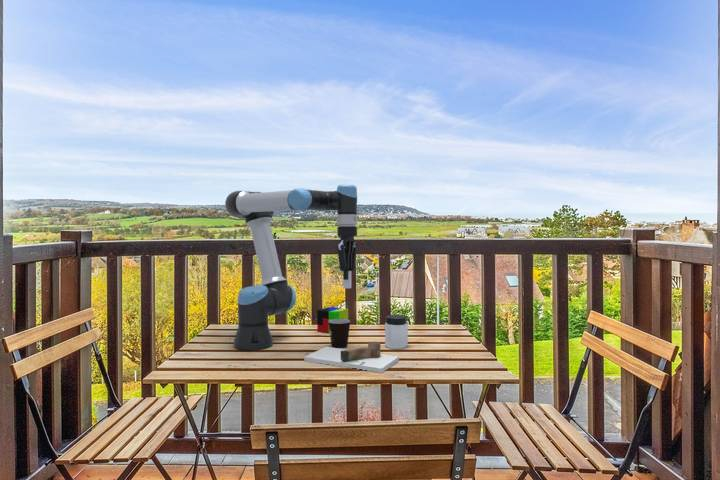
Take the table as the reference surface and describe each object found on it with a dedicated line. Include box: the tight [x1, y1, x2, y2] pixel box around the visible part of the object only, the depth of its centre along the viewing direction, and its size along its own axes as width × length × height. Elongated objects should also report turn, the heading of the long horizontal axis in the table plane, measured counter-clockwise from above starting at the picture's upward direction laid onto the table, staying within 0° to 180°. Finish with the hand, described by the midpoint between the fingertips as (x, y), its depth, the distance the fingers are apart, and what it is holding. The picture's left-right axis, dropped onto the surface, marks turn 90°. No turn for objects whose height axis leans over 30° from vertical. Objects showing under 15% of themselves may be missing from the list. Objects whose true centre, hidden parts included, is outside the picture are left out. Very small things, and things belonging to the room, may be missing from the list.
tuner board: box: [303, 346, 400, 374], centre depth 161 cm, size 30×15×2 cm, turn 63°
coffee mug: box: [329, 319, 351, 349], centre depth 182 cm, size 12×9×10 cm
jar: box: [384, 314, 409, 350], centre depth 180 cm, size 9×8×12 cm
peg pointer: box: [341, 341, 381, 361], centre depth 159 cm, size 15×4×4 cm, turn 121°
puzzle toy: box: [316, 306, 349, 335], centre depth 207 cm, size 10×10×10 cm
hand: (347, 287), depth 172 cm, fingers closed
